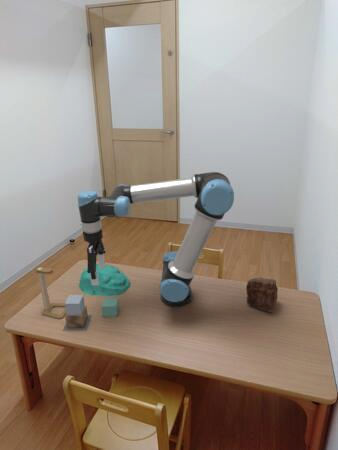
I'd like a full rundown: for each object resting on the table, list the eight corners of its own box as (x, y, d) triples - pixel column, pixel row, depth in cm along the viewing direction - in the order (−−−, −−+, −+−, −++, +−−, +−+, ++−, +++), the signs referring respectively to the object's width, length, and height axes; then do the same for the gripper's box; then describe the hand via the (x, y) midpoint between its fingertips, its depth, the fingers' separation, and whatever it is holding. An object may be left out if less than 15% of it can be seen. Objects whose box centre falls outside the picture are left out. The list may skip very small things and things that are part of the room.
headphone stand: (62, 320, 145) (54, 277, 136) (39, 317, 147) (29, 274, 138) (73, 305, 154) (66, 264, 146) (51, 303, 157) (43, 262, 148)
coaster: (92, 316, 147) (92, 315, 147) (86, 331, 138) (86, 330, 138) (69, 315, 148) (69, 315, 148) (62, 331, 139) (62, 330, 138)
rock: (244, 313, 147) (246, 284, 141) (245, 297, 157) (247, 270, 151) (277, 317, 144) (281, 288, 138) (276, 301, 154) (279, 273, 148)
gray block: (84, 306, 143) (83, 294, 141) (81, 315, 138) (79, 303, 135) (71, 306, 143) (69, 295, 141) (66, 315, 138) (64, 303, 135)
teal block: (119, 309, 152) (117, 298, 149) (116, 317, 146) (115, 306, 144) (105, 309, 152) (104, 298, 150) (103, 317, 146) (101, 306, 144)
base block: (88, 317, 146) (86, 305, 144) (83, 328, 139) (82, 316, 137) (72, 317, 146) (70, 305, 144) (67, 328, 140) (65, 316, 137)
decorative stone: (93, 270, 184) (90, 254, 180) (137, 279, 174) (136, 263, 170) (69, 290, 167) (66, 273, 163) (116, 302, 157) (115, 284, 153)
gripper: (90, 218, 144) (96, 261, 153) (73, 244, 122) (82, 293, 130) (107, 217, 144) (113, 261, 152) (94, 243, 121) (101, 292, 130)
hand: (99, 275), depth 141 cm, fingers open, 13 cm apart
